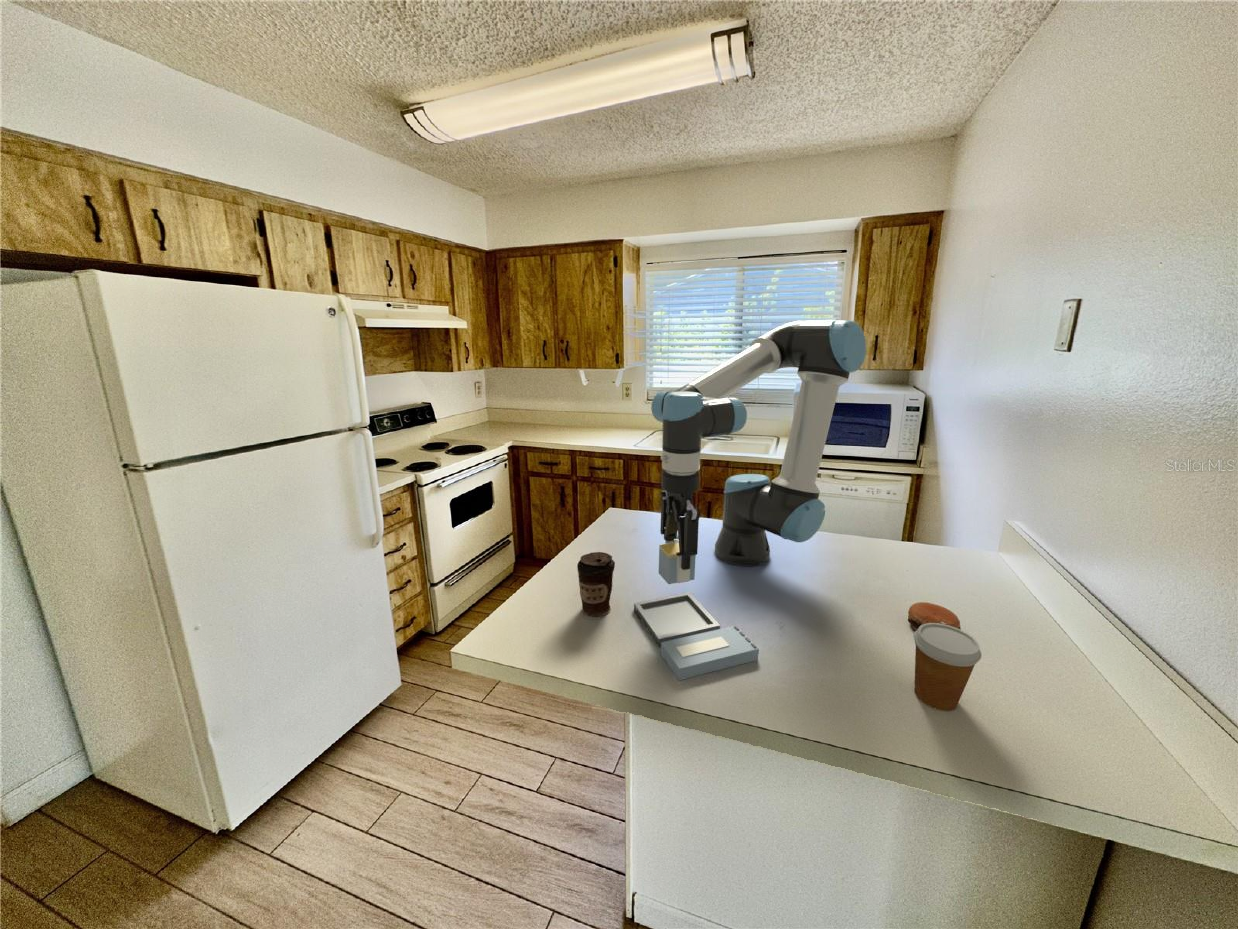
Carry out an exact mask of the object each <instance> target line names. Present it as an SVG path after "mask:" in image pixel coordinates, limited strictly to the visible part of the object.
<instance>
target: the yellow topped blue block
mask: <svg viewBox="0 0 1238 929" xmlns="http://www.w3.org/2000/svg"><path fill="white" fill-rule="evenodd" d="M677 552H679V541H678V542H677V543H670V544H659V547H658V553H659V554H658V574H659V575H660V576H661V578H662V579H663V580H664V582H666V583H667V584H668V585H673V584H678V583H677V582H676V572H677V554H676V553H677ZM696 557H697V555H691V558H690V581H694V580H695V575H696V574H695V572H696Z"/></svg>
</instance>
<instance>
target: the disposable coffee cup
mask: <svg viewBox="0 0 1238 929" xmlns="http://www.w3.org/2000/svg"><path fill="white" fill-rule="evenodd" d="M913 640H914V643H915V656H914V659H915V660H914V662H915V663H914V690H913V691H914V694H915V697H917V699H918V700H919V701H920V702H921V703H923V704H924V705H925V706H928V707H930V708H932V709H935V710H938V711H941V712H950V711H955V710H956V709H957V707H958V704H959V702H960V700H961V698H962V696H963V693H964V690H965V688H966V686H967V684H968V682H969V679H970V677H971V675H972V673H973V670H974V668H975V666H976V664H977V663H979V662H980V661H981V659H982V656H983V655H982V652H981V650H980V645H979V642H978V641H977V639H975V638H974V637H973V636H972V635H970V634H969V633H968V632H965V631H963V630H960V629H957V628H955V627H952V626H949V625H945V624H940V623H926V624H923V625H921V626H920V627H919V628H918V630H915V631H914V633H913Z"/></svg>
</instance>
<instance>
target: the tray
mask: <svg viewBox="0 0 1238 929" xmlns="http://www.w3.org/2000/svg"><path fill="white" fill-rule="evenodd" d="M633 611H634V613H635V614H636V615H637V617H638V618H639V620H640V622H642V624H643V626H644V627H645V629H646V630H647V632H648V633H649V634H650V636H651V638H652V639H653V640H654V642H655V643H656V645H657V646H658V647H660V648H661V642H666V641H670V640H674V639H679V638H683V637H687V636H692V635H696V634H700V633H705V632H709V631H713V630H718V629H721V624H720V623H719V622H718V621H717V620H716V619H715V618H714V617H713V616H712V614H710V613H709V612H708V610H707V609H705V607H704V606H703V605H702V603H700V602H699V601H698V600H697V599H696V598H695V597H694V596H693V594H692V593H691V592H690V591H687V592H682V593H678V594H673V595H669V596H663V597H658V598H657V597H656V598H652V599H648V600H642V601H638V602H637V601H636V602H634V603H633Z"/></svg>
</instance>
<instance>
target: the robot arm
mask: <svg viewBox="0 0 1238 929" xmlns="http://www.w3.org/2000/svg"><path fill="white" fill-rule="evenodd" d="M866 341H867V340H866V336H865V334H864V330H863V329H862V327H861V325H859V324H858V323H857V322H855V321H853V320H843V319H838V318H836V319H825V320H824V319H823V320H821V319H820V320H818V319H817V320H795V321H790V322H788V323H785V324H782V325H779V326H778V327H776V328H773V329H771V330H769V331H767V332H765V333H763V334H761V335H760V336H758V337H757V338H755V339H753V340H752V341H751V342H750V345H749V346H748V347H747V348H746V349H744V350H742V351H741V352H739V353H737V354H735V355H734V356H732V357H731V358H729V359H727V360H725V361H724V362H722V363H720V364H719V365H717V366H716V367H713V368H712V369H711V370H708V371H707V372H706V373H704V374H702V375H700V376H698V377H697V378H695V379H693V380H692V381H690V382H688V383H687V384H685V385H683V386H682V387H680V388H678V389H676V390H674V391H673V390H670V389H669V390H662V391H659V392H657V393H656V394H655V395H654V397H653V398H652V401H651V407H650V408H651V413H652V416H653V418H654V419H655V420H656V421H658V422H660V423H662V447H661V448H662V451H661V452H662V454H661V456H660V460H661V461H662V462H661V468H662V469H663V470H662V471H661V484H660V486H661V489H662V490H661V491H660V493H659V494H660V501H661V502H660V503H661V504H660V527H659V528H660V530H659V531H660V534H661V535H663V540H664V541H665V542H664V543H665V544H670V543H677V542H679V552H677V553H676V554H677V572H676V582H677V583H676V584H681V583H687V582H690V581H691V580H690V558H691V555H696V556H697V555H698V547H699V546H698V545H699V524H700V523H699V522H700V518H701V512H702V511H701V510H700V508H695V507H694V501H693V494H694V493H695V492H697V491H698V490H699V488H700V486H699V485H700V472H699V470H701V451H702V450H701V446H702V439H705V438H712V437H713V438H714V437H720V436H728V435H730V434H735V433H738V432H739V431H741V430H742V429H743V428H744V426H745V425H746V423H747V420H748V419H747V417H748V411H747V408H746V406H745V404H744V402H743V401H741V399H739V398H737V397H729V396H730V395H733V393H735V392H737V391H738V390H740V389H741V388H743V387H745V386H746V385H748V384H750V383H751V382H752V381H754V380H756V379H757V378H760V376H762V375H763V374H771V373H774V372H776V371H777V370H779V369H784V368H785V369H786V368H796V369H798V370H797V372H796V373H797V376H798V377H799V378H800V380H801V384H800V389H799V392H798V397H797V401H796V405H795V408H794V413H793V418H792V422H791V427H790V430H789V435H788V438H787V443H786V448H785V451H784V455H783V460H782V464H781V468H780V473H779V475H778V476H777V477H775V478H774V479H772V480H770V478H769V476H768V475H765V474H761V473H760V474H759V473H743V474H736V475H731V476H730V477H728V478H727V479H726V481H725V484H724V490H723V509H722V526H721V529H720V532H719V534H718V536H717V539H716V541H715V544H714V554H715V556H716V557H717V558H718V559H719V560H721V561H724V562H725V563H728V564H731V565H734V566H735V565H736V566H740V567H741V566H742V567H755V566H761V565H764V564H765V563H767V562H768V561H769V560H770V557H771V555H770V553H771V548H770V545H769V540H768V537H767V533H766V532H768V533H771V534H773V535H776V536H778V537H781V538H782V539H784V540H789V541H791V542H793V543H794V542H795V543H804V542H807V541H809V540H811V539H812V537H814V536H815V535H816V534H817V532H818V531H819V530H820V528H821V526H822V524H823V523H824V520H825V516H826V506H825V504H824V502H822V500H821V499H819V497H820V493H821V491H820V489H819V487H818V486H817V484H816V481H817V477H818V474H819V469H820V466H821V461H822V457H823V454H824V450H825V447H826V443H827V442H826V441H827V438H828V434H829V433H828V432H829V430H830V425H831V422H832V421H831V420H832V417H833V413H834V408H835V405H836V403H837V402H836V401H837V397H838V393H839V390H840V387H841V386H843V385H844V384H846V383H847V382H848V381H849V377H850V373H854V372H857V371H859V369H860V368H861V366H862V365H863V363H864V361H865V359H866V358H865V357H866V355H867V354H866V353H867V352H866V351H867V342H866Z"/></svg>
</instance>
